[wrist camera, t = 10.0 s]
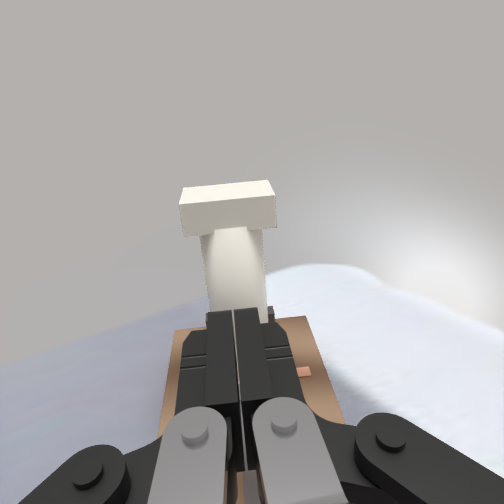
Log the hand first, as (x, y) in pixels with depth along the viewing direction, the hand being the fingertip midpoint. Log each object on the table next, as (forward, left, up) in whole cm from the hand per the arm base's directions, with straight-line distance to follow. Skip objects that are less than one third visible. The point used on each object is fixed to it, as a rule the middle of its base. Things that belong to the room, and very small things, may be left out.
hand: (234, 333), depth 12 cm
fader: (-5, +7, -10) cm, 13 cm away
